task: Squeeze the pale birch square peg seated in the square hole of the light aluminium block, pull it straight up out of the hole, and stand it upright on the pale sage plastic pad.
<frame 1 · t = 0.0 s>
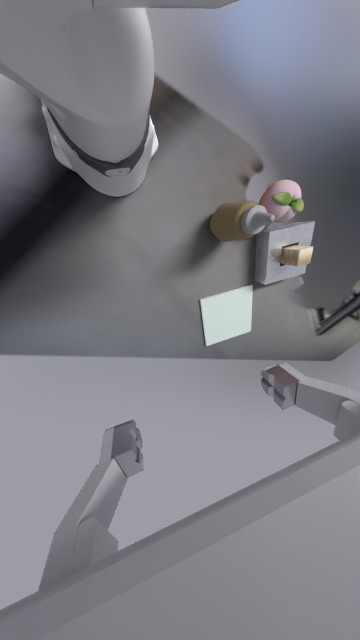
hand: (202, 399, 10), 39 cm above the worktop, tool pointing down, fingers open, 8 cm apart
decorative fruit: (263, 205, 44), on the worktop
aluminium socket block: (275, 252, 51), on the worktop
sage pad: (227, 316, 57), on the worktop
birch peg: (288, 254, 47), in the aluminium socket block
squeeze bottle: (219, 223, 43), on the worktop
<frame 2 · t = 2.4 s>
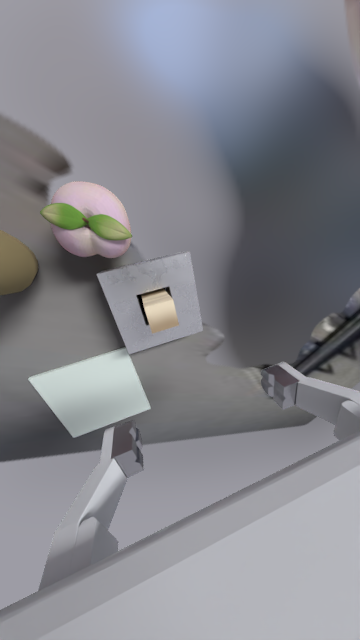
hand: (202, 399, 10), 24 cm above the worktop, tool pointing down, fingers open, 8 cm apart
decorative fruit: (100, 228, 26), on the worktop
aluminium socket block: (153, 298, 32), on the worktop
sage pad: (98, 393, 36), on the worktop
birch peg: (157, 306, 28), in the aluminium socket block
squeeze bottle: (15, 261, 25), on the worktop
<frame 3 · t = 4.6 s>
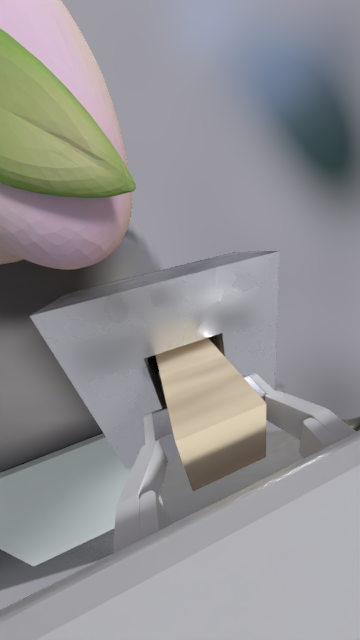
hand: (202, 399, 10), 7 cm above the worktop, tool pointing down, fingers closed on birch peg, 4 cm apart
decorative fruit: (55, 193, 11), on the worktop
aluminium socket block: (175, 343, 16), on the worktop
sage pad: (74, 499, 21), on the worktop
birch peg: (191, 376, 12), in the aluminium socket block, touching gripper
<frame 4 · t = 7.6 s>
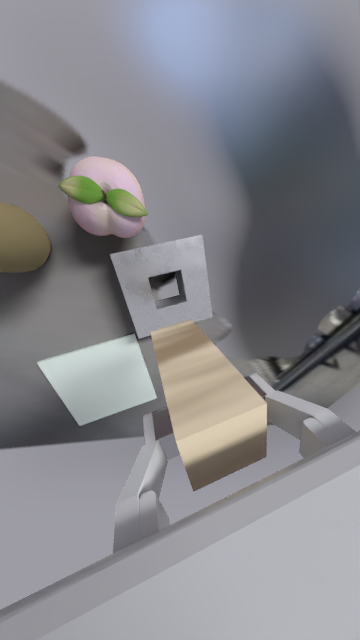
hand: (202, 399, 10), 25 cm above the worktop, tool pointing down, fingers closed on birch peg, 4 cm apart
decorative fruit: (113, 210, 26), on the worktop
aluminium socket block: (163, 285, 32), on the worktop
sage pad: (105, 381, 36), on the worktop
birch peg: (192, 376, 12), point 23 cm above the worktop, touching gripper
squeeze bottle: (29, 241, 25), on the worktop
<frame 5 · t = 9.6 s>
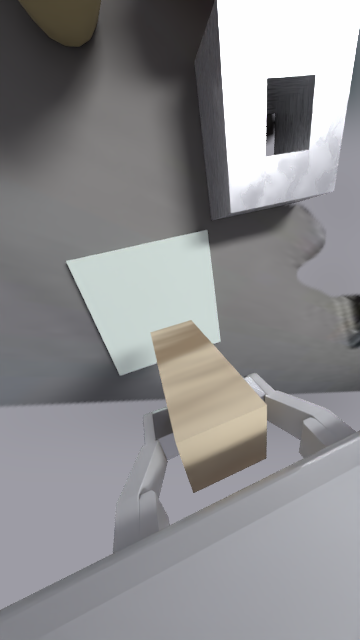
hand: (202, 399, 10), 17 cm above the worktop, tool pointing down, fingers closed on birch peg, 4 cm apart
aluminium socket block: (255, 145, 21), on the worktop
sage pad: (158, 308, 25), on the worktop
birch peg: (192, 377, 12), point 15 cm above the worktop, touching gripper
when the fingers open (10 cm above the worktop, at t = 11.0 s): birch peg drops 2 cm, resting on sage pad.
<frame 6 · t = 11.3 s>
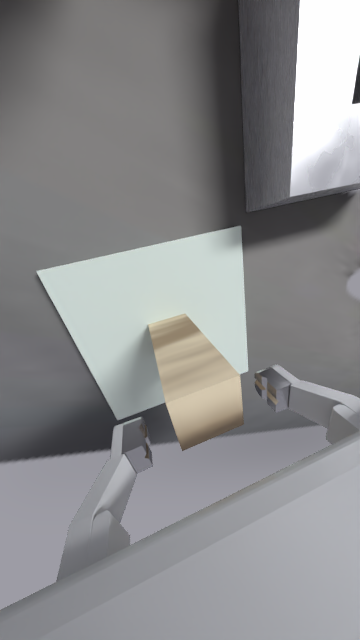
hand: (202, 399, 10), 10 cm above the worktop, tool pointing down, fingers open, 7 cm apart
aluminium socket block: (314, 103, 14), on the worktop
sage pad: (170, 332, 19), on the worktop
birch peg: (184, 362, 14), on the sage pad, point 6 cm above the worktop
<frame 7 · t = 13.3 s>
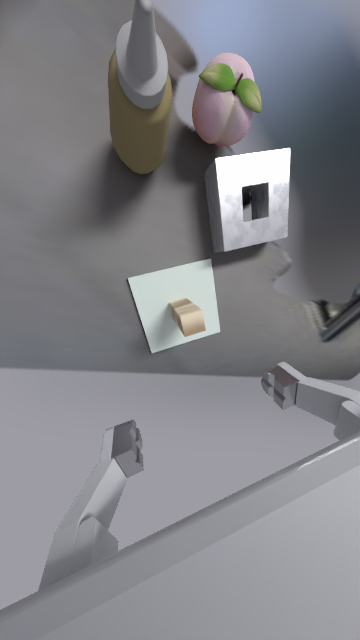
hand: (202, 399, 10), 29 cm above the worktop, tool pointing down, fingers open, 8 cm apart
decorative fruit: (208, 130, 29), on the worktop
aluminium socket block: (240, 210, 35), on the worktop
sage pad: (179, 307, 39), on the worktop
birch peg: (185, 315, 34), on the sage pad, point 6 cm above the worktop
squeeze bottle: (139, 153, 28), on the worktop
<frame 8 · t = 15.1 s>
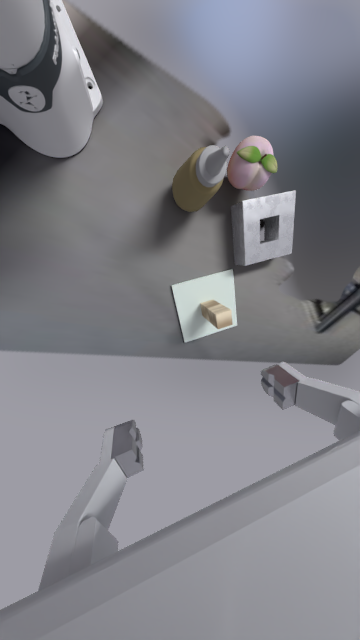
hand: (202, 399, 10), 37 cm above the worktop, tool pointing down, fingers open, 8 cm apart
decorative fruit: (235, 175, 40), on the worktop
aluminium socket block: (255, 231, 46), on the worktop
sage pad: (206, 307, 50), on the worktop
birch peg: (215, 313, 45), on the sage pad, point 6 cm above the worktop
squeeze bottle: (185, 195, 38), on the worktop
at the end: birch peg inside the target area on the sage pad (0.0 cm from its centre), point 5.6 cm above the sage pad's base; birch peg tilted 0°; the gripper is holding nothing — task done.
